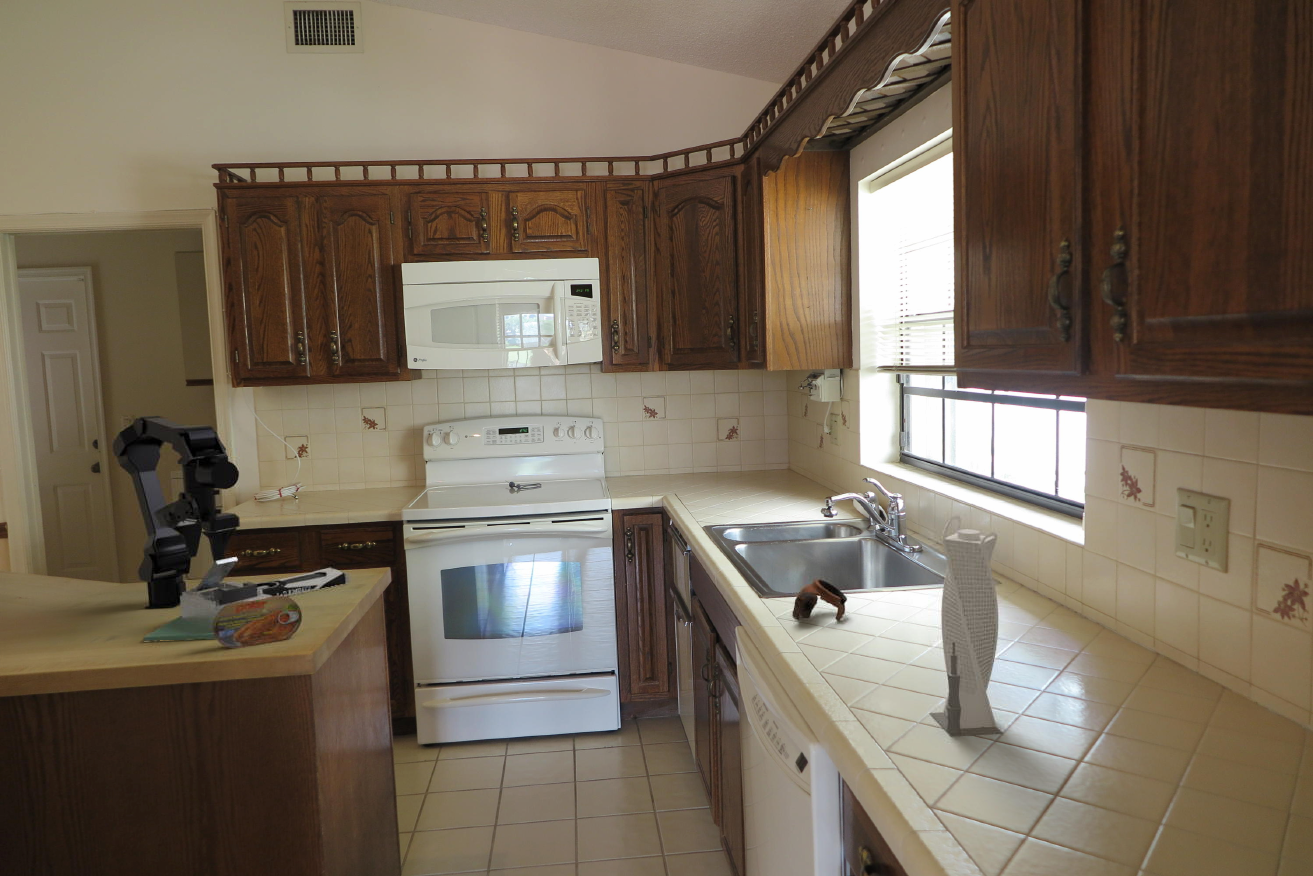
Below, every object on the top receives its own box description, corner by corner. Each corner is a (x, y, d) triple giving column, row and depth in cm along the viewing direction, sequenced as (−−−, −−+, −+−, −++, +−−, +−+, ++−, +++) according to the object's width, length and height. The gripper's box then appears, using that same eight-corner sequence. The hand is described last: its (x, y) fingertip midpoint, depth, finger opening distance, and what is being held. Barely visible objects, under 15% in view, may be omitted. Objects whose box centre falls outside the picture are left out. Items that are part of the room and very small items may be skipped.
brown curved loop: (801, 609, 166) (822, 575, 164) (838, 638, 160) (860, 603, 158) (772, 609, 156) (794, 572, 155) (810, 639, 151) (833, 602, 149)
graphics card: (349, 571, 196) (237, 594, 179) (350, 585, 196) (238, 609, 179) (331, 565, 203) (222, 586, 186) (332, 578, 203) (223, 601, 186)
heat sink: (182, 619, 167) (178, 583, 167) (231, 607, 175) (228, 573, 174) (216, 632, 158) (213, 594, 157) (267, 618, 166) (264, 582, 165)
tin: (214, 652, 150) (210, 607, 149) (214, 647, 153) (211, 603, 152) (303, 637, 157) (300, 594, 156) (302, 632, 160) (299, 590, 159)
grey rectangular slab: (196, 592, 169) (195, 588, 169) (216, 588, 172) (215, 583, 172) (217, 564, 162) (215, 560, 162) (237, 560, 165) (236, 556, 165)
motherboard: (143, 642, 157) (143, 637, 157) (197, 611, 177) (196, 606, 176) (250, 637, 158) (250, 632, 158) (291, 607, 178) (291, 602, 177)
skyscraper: (925, 711, 115) (924, 515, 113) (982, 708, 116) (982, 513, 113) (950, 738, 107) (950, 527, 104) (1010, 735, 107) (1012, 524, 105)
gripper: (135, 488, 170) (142, 562, 171) (183, 494, 159) (189, 573, 161) (190, 481, 179) (196, 551, 180) (238, 486, 169) (244, 561, 170)
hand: (204, 559), depth 173 cm, fingers open, 9 cm apart
